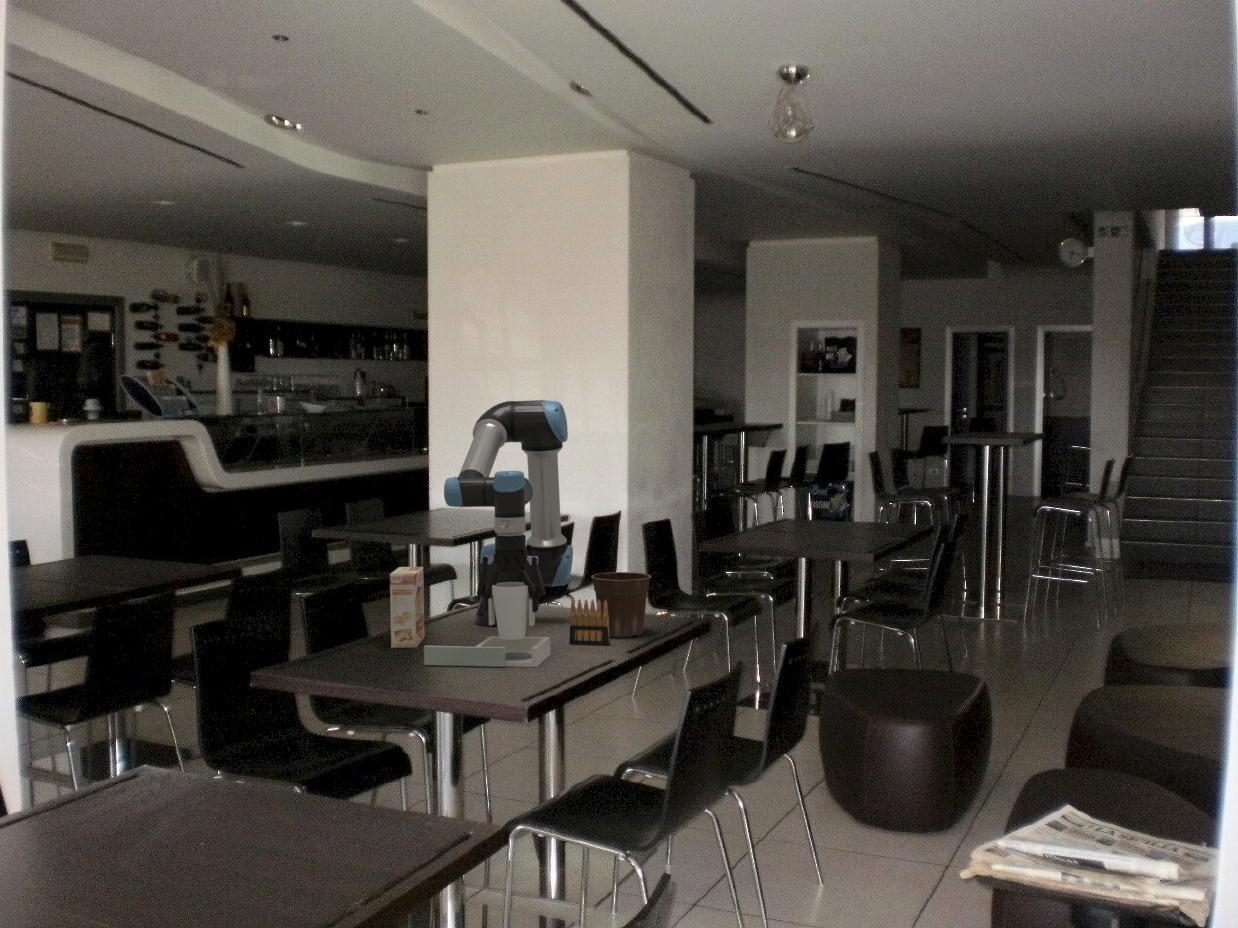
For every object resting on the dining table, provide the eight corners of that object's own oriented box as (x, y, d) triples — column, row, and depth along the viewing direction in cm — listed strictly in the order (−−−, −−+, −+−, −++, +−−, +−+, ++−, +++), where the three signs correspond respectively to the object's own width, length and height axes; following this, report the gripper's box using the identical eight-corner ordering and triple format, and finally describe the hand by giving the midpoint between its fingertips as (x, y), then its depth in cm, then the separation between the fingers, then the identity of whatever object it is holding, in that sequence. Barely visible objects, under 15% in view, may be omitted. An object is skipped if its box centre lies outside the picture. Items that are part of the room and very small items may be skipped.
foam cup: (496, 641, 298) (495, 588, 298) (489, 635, 307) (488, 583, 307) (534, 639, 301) (534, 586, 300) (527, 632, 310) (526, 581, 309)
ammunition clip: (610, 644, 323) (609, 599, 323) (608, 646, 321) (608, 600, 321) (571, 643, 326) (570, 598, 325) (569, 644, 324) (568, 599, 323)
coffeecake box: (417, 647, 323) (415, 573, 322) (390, 648, 323) (388, 573, 322) (425, 636, 338) (424, 565, 337) (399, 637, 338) (398, 566, 337)
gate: (425, 663, 301) (425, 645, 301) (505, 665, 298) (505, 647, 298) (424, 664, 300) (423, 646, 300) (504, 666, 297) (503, 648, 297)
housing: (491, 653, 314) (490, 636, 313) (550, 654, 311) (549, 637, 311) (474, 665, 300) (474, 647, 299) (536, 666, 297) (536, 648, 297)
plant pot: (649, 628, 346) (649, 570, 345) (654, 639, 330) (653, 579, 329) (591, 629, 345) (590, 572, 344) (593, 640, 329) (592, 580, 328)
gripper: (462, 535, 301) (464, 626, 302) (550, 535, 297) (552, 628, 298) (471, 532, 309) (472, 621, 310) (557, 532, 305) (559, 622, 306)
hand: (511, 624), depth 304 cm, fingers closed on foam cup, 9 cm apart
